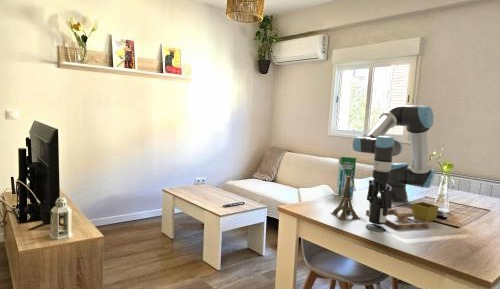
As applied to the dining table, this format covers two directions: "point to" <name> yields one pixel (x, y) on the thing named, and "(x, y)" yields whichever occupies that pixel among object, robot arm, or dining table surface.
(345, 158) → the milk carton
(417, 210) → the flower pot
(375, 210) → the supplement bottle
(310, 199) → the dining table surface
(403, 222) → the offcut bottom
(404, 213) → the offcut top
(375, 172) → the robot arm
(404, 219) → the offcut middle
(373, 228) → the coaster
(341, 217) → the eiffel tower
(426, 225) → the frame
